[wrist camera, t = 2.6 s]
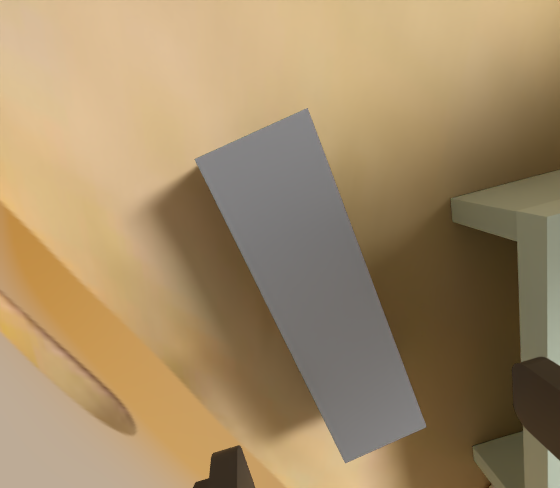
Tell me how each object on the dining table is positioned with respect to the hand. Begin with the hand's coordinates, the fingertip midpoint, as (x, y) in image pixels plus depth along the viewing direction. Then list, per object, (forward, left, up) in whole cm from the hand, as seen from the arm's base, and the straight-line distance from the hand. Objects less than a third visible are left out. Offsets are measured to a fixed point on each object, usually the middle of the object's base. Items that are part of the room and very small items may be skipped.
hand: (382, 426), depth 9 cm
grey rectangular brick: (0, 0, -12) cm, 12 cm away
